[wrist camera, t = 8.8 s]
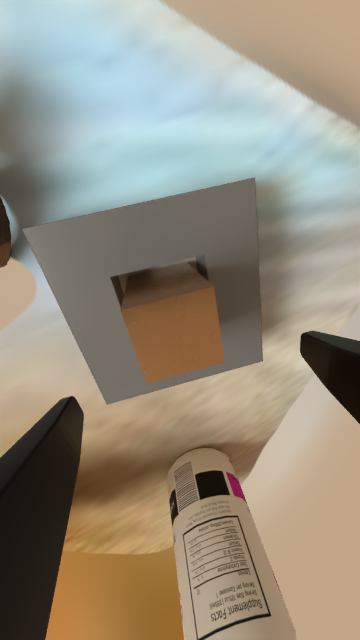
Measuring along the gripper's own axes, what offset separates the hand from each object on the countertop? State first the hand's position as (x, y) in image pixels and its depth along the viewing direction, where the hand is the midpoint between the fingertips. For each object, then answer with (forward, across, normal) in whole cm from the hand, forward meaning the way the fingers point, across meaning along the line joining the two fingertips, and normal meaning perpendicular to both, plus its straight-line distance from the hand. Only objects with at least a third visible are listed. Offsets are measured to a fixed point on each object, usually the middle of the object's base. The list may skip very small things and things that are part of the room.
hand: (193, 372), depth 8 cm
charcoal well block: (+10, 0, 0) cm, 11 cm away
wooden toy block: (+10, 0, 0) cm, 10 cm away
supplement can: (+11, +1, +24) cm, 26 cm away
